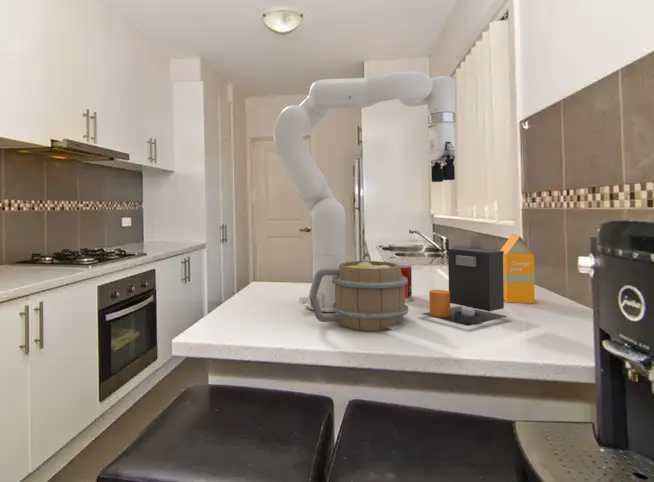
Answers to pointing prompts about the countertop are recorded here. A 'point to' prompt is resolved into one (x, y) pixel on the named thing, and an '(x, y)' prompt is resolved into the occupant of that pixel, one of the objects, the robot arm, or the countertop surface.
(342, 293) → the mug
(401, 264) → the canned food
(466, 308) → the button
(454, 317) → the base
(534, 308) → the countertop surface
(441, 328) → the countertop surface
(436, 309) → the container
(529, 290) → the orange juice
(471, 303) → the coffee maker
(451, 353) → the countertop surface
